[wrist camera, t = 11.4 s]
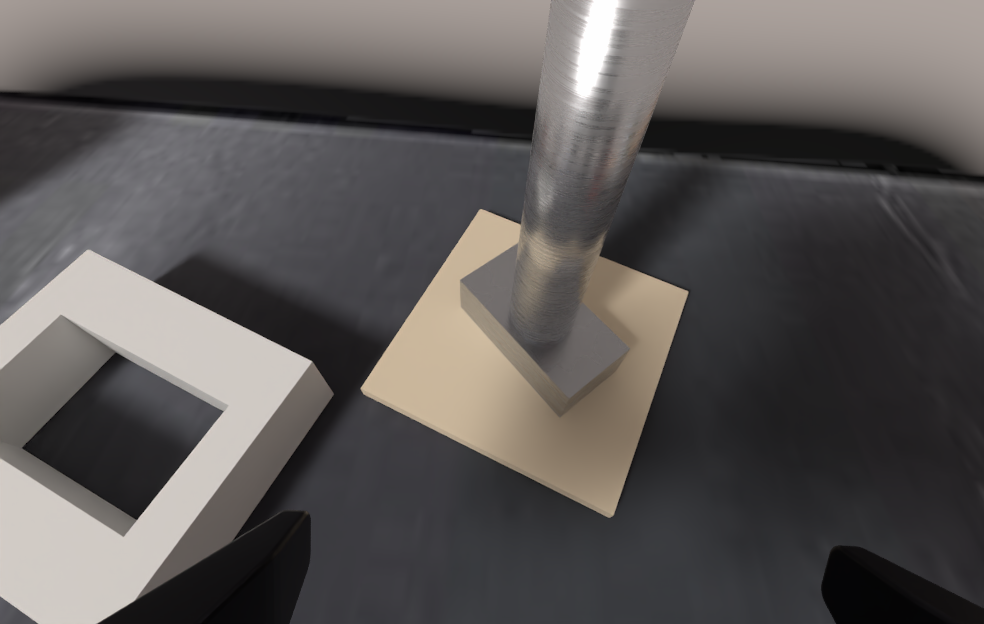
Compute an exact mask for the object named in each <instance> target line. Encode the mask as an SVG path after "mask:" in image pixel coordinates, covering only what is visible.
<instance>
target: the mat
mask: <svg viewBox="0 0 984 624" xmlns="http://www.w3.org/2000/svg"><path fill="white" fill-rule="evenodd" d="M520 229H521V225H520V224H518V223H515V222H512V221H510V220H507V219H505V218H502V217H500V216H497V215H495V214H492V213H490V212H487V211H485V210H482V209H480V210H479V212H478V213H477V215H476V216H475V218H474V219H473V221H472V222H471V224H470V225H469V227H468V228H467V230H466V231H465V233H464V234H463V236H462V237H461V239H460V240H459V242H458V243H457V245H456V246H455V248H454V249H453V251H452V252H451V254H450V255H449V257H448V258H447V260H446V261H445V263H444V264H443V266H442V267H441V269H440V270H439V272H438V273H437V275H436V276H435V278H434V279H433V281H432V282H431V284H430V285H429V287H428V288H427V290H426V291H425V293H424V294H423V296H422V297H421V299H420V300H419V302H418V303H417V305H416V306H415V308H414V309H413V311H412V312H411V314H410V315H409V317H408V318H407V320H406V321H405V323H404V324H403V326H402V327H401V329H400V330H399V332H398V333H397V335H396V336H395V338H394V339H393V341H392V342H391V344H390V345H389V347H388V348H387V350H386V351H385V353H384V354H383V356H382V357H381V359H380V360H379V362H378V363H377V365H376V366H375V368H374V369H373V371H372V372H371V374H370V375H369V377H368V378H367V380H366V381H365V383H364V384H363V386H362V387H361V390H362V392H363V394H364V395H366V396H368V397H370V398H372V399H374V400H376V401H378V402H380V403H382V404H384V405H386V406H388V407H390V408H392V409H394V410H396V411H398V412H400V413H402V414H404V415H406V416H408V417H410V418H412V419H414V420H416V421H418V422H420V423H422V424H424V425H426V426H428V427H430V428H432V429H434V430H436V431H438V432H440V433H441V434H443V435H445V436H447V437H449V438H451V439H453V440H455V441H457V442H459V443H461V444H463V445H465V446H467V447H469V448H471V449H473V450H475V451H477V452H479V453H481V454H483V455H485V456H487V457H489V458H491V459H493V460H495V461H497V462H499V463H501V464H503V465H505V466H507V467H509V468H511V469H513V470H515V471H517V472H519V473H521V474H523V475H525V476H527V477H529V478H531V479H533V480H535V481H537V482H539V483H541V484H543V485H545V486H547V487H549V488H551V489H553V490H555V491H557V492H559V493H561V494H563V495H565V496H567V497H569V498H571V499H573V500H575V501H577V502H579V503H581V504H582V505H584V506H586V507H588V508H590V509H592V510H594V511H596V512H598V513H600V514H602V515H604V516H606V517H608V518H610V517H612V516H613V515H614V513H615V510H616V507H617V504H618V501H619V498H620V495H621V492H622V489H623V486H624V483H625V480H626V477H627V474H628V471H629V468H630V465H631V462H632V459H633V456H634V453H635V450H636V447H637V444H638V441H639V438H640V435H641V432H642V429H643V426H644V423H645V420H646V417H647V414H648V411H649V408H650V405H651V402H652V399H653V396H654V394H655V391H656V388H657V385H658V382H659V379H660V376H661V373H662V370H663V367H664V364H665V361H666V358H667V355H668V352H669V349H670V346H671V343H672V340H673V337H674V334H675V331H676V328H677V325H678V322H679V319H680V316H681V313H682V310H683V307H684V304H685V301H686V298H687V295H688V291H686V290H683V289H681V288H678V287H676V286H673V285H671V284H668V283H666V282H663V281H661V280H658V279H656V278H653V277H651V276H648V275H646V274H643V273H641V272H638V271H636V270H633V269H631V268H628V267H626V266H623V265H621V264H618V263H616V262H613V261H611V260H608V259H606V258H603V257H600V256H599V258H598V260H597V263H596V266H595V268H594V271H593V274H592V276H591V279H590V282H589V284H588V287H587V290H586V292H585V295H584V298H583V300H582V302H583V303H584V304H585V305H586V306H587V307H588V308H589V309H590V310H591V311H592V312H593V313H594V314H595V315H596V316H597V317H598V318H599V319H600V320H601V321H602V322H603V323H604V324H605V325H606V326H607V327H608V328H609V329H611V330H612V331H613V332H614V333H615V334H616V335H617V336H618V337H619V338H620V339H621V340H622V341H623V342H624V343H625V344H626V345H627V346H628V347H629V348H630V350H629V351H628V353H627V355H626V356H625V358H624V359H623V361H622V362H621V364H620V366H619V367H618V369H617V370H616V371H615V372H614V373H613V374H612V375H611V376H609V377H608V378H607V379H606V380H605V381H603V382H602V383H601V384H600V385H599V386H597V387H596V388H595V389H594V390H593V391H591V392H590V393H589V394H588V395H586V396H585V397H584V398H583V399H582V400H580V401H579V402H578V403H577V404H576V405H574V406H573V407H572V408H571V409H570V410H568V411H567V412H566V413H565V414H564V415H562V416H561V417H560V418H559V416H558V415H557V414H556V413H555V412H554V411H553V410H552V409H551V408H550V406H549V405H548V404H547V403H546V402H545V401H544V400H543V399H542V397H541V396H540V395H539V394H538V393H537V392H536V391H535V390H534V388H533V387H532V386H531V385H530V384H529V383H528V382H527V381H526V380H525V378H524V377H523V376H522V375H521V374H520V373H519V372H518V371H517V369H516V368H515V367H514V366H513V365H512V364H511V363H510V362H509V360H508V359H507V358H506V357H505V356H504V355H503V354H502V353H501V352H500V350H499V349H498V348H497V347H496V346H495V345H494V344H493V343H492V341H491V340H490V339H489V338H488V337H487V336H486V335H485V334H484V332H483V331H482V330H481V329H480V328H479V327H478V326H477V325H476V323H475V322H474V321H473V320H472V319H471V318H470V317H469V316H468V315H467V313H466V312H465V311H464V310H463V309H462V308H461V299H460V280H461V279H462V278H464V277H465V276H467V275H468V274H470V273H472V272H473V271H475V270H476V269H478V268H479V267H481V266H483V265H484V264H486V263H487V262H489V261H490V260H492V259H494V258H495V257H497V256H498V255H500V254H501V253H503V252H505V251H506V250H508V249H509V248H511V247H512V246H514V245H516V244H517V243H519V236H520Z"/></svg>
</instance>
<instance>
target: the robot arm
mask: <svg viewBox="0 0 984 624" xmlns="http://www.w3.org/2000/svg"><path fill="white" fill-rule="evenodd" d="M310 554H311V518H310V514H309V513H308V512H307V511H299V510H283V511H281V512H280V513H278V514H276V515H275V516H273V517H271V518H270V519H268V520H266V521H265V522H263V523H262V524H260V525H258V526H257V527H255V528H253V529H252V530H250V531H248V532H247V533H245V534H243V535H242V536H240V537H238V538H237V539H235V540H234V541H232V542H230V543H229V544H227V545H225V546H224V547H222V548H220V549H219V550H217V551H215V552H214V553H212V554H210V555H209V556H207V557H206V558H204V559H202V560H201V561H199V562H197V563H196V564H194V565H192V566H191V567H189V568H187V569H186V570H184V571H183V572H181V573H179V574H178V575H176V576H174V577H173V578H171V579H169V580H168V581H166V582H164V583H163V584H161V585H159V586H158V587H156V588H155V589H153V590H151V591H150V592H148V593H146V594H145V595H143V596H141V597H140V598H138V599H136V600H135V601H133V602H131V603H130V604H128V605H127V606H125V607H123V608H122V609H120V610H118V611H117V612H115V613H113V614H112V615H110V616H108V617H107V618H105V619H103V620H102V621H100V622H99V623H97V624H289V623H290V620H291V617H292V614H293V611H294V608H295V605H296V603H297V600H298V597H299V594H300V591H301V588H302V585H303V582H304V579H305V576H306V573H307V570H308V567H309V562H310ZM821 591H822V596H823V599H824V602H825V604H826V606H827V608H828V609H829V611H830V613H831V615H832V617H833V619H834V621H835V622H836V624H984V608H982V607H980V606H978V605H976V604H974V603H972V602H970V601H968V600H966V599H964V598H962V597H960V596H958V595H956V594H954V593H952V592H950V591H948V590H946V589H944V588H942V587H940V586H938V585H936V584H934V583H932V582H930V581H928V580H926V579H924V578H922V577H920V576H918V575H916V574H914V573H912V572H910V571H908V570H906V569H904V568H902V567H900V566H898V565H896V564H894V563H892V562H890V561H888V560H886V559H884V558H882V557H880V556H878V555H876V554H874V553H872V552H870V551H868V550H866V549H864V548H861V547H857V546H841V545H838V546H835V547H833V549H832V550H831V551H830V554H829V558H828V562H827V565H826V569H825V573H824V577H823V581H822V585H821Z"/></svg>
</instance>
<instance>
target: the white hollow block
mask: <svg viewBox="0 0 984 624" xmlns="http://www.w3.org/2000/svg"><path fill="white" fill-rule="evenodd" d="M115 352H116V353H118V354H119V355H121V356H123V357H125V358H127V359H129V360H130V361H132V362H134V363H136V364H138V365H140V366H141V367H143V368H145V369H147V370H149V371H150V372H152V373H154V374H156V375H158V376H160V377H161V378H163V379H165V380H167V381H169V382H171V383H172V384H174V385H176V386H178V387H180V388H182V389H183V390H185V391H187V392H189V393H191V394H193V395H194V396H196V397H198V398H200V399H202V400H204V401H205V402H207V403H209V404H211V405H213V406H215V407H216V408H218V409H220V410H222V411H224V412H223V414H222V415H221V416H220V417H219V419H218V420H217V421H216V422H215V424H214V425H213V426H212V427H211V429H210V430H209V431H208V432H207V434H206V435H205V436H204V437H203V439H202V440H201V441H200V442H199V444H198V445H197V446H196V447H195V449H194V450H193V451H192V452H191V454H190V455H189V456H188V457H187V459H186V460H185V461H184V462H183V464H182V465H181V466H180V467H179V469H178V470H177V471H176V472H175V474H174V475H173V476H172V477H171V479H170V480H169V481H168V482H167V484H166V485H165V486H164V487H163V489H162V490H161V491H160V492H159V493H158V495H157V496H156V497H155V498H154V500H153V501H152V502H151V503H150V505H149V506H148V507H147V508H146V510H145V511H144V512H143V513H142V515H141V516H140V517H139V518H138V520H136V519H134V518H132V517H131V516H129V515H128V514H126V513H124V512H123V511H121V510H120V509H118V508H116V507H115V506H113V505H112V504H110V503H108V502H107V501H105V500H104V499H102V498H100V497H99V496H97V495H96V494H94V493H92V492H91V491H89V490H88V489H86V488H84V487H83V486H81V485H80V484H78V483H76V482H75V481H73V480H72V479H70V478H68V477H67V476H65V475H64V474H62V473H60V472H59V471H57V470H56V469H54V468H53V467H51V466H49V465H48V464H46V463H45V462H43V461H41V460H40V459H38V458H37V457H35V456H33V455H32V454H30V453H29V452H27V451H25V450H24V449H22V447H23V446H24V445H25V444H26V443H27V442H28V441H29V440H30V439H31V438H32V437H33V436H34V435H35V434H36V433H37V432H38V431H39V430H40V429H41V428H42V427H43V426H44V425H45V424H46V423H47V422H48V421H49V420H50V419H51V418H52V417H53V416H54V415H55V414H56V413H57V411H58V410H59V409H60V408H61V407H62V406H63V405H64V404H65V403H66V402H67V401H68V400H69V399H70V398H71V397H72V396H73V395H74V394H75V393H76V392H77V391H78V390H79V389H80V388H81V387H82V386H83V385H84V384H85V383H86V382H87V381H88V380H89V379H90V378H91V377H92V376H93V375H94V374H95V373H96V372H97V371H98V370H99V369H100V368H101V367H102V366H103V365H104V364H105V363H106V362H107V361H108V360H109V359H110V358H111V357H112V356H113V355H114V354H115ZM333 395H334V393H333V392H332V390H331V389H330V387H329V386H328V384H327V383H326V381H325V380H324V378H323V377H322V375H321V374H320V372H319V371H318V369H317V368H316V366H315V365H314V363H313V362H312V361H310V360H308V359H306V358H304V357H302V356H300V355H298V354H296V353H294V352H292V351H290V350H288V349H286V348H284V347H282V346H280V345H278V344H276V343H274V342H272V341H270V340H268V339H266V338H264V337H262V336H260V335H258V334H256V333H254V332H252V331H250V330H248V329H246V328H244V327H242V326H240V325H238V324H236V323H234V322H232V321H230V320H228V319H226V318H224V317H222V316H220V315H218V314H216V313H214V312H212V311H210V310H208V309H206V308H204V307H202V306H200V305H198V304H196V303H194V302H192V301H190V300H188V299H186V298H184V297H182V296H180V295H178V294H176V293H174V292H172V291H170V290H168V289H166V288H164V287H162V286H160V285H158V284H156V283H154V282H152V281H150V280H148V279H146V278H144V277H142V276H140V275H138V274H136V273H134V272H132V271H130V270H128V269H126V268H124V267H122V266H120V265H118V264H116V263H114V262H112V261H110V260H108V259H106V258H104V257H102V256H100V255H98V254H96V253H94V252H92V251H90V250H87V251H86V252H85V253H83V254H82V255H81V256H80V257H79V258H78V259H76V260H75V261H74V262H73V263H72V264H71V265H70V266H68V267H67V268H66V269H65V270H64V271H63V272H61V273H60V274H59V275H58V276H57V277H56V278H54V279H53V280H52V281H51V282H50V283H49V284H48V285H46V286H45V287H44V288H43V289H42V290H41V291H39V292H38V293H37V294H36V295H35V296H34V297H33V298H31V299H30V300H29V301H28V302H27V303H26V304H24V305H23V306H22V307H21V308H20V309H19V310H18V311H16V312H15V313H14V314H13V315H12V316H11V317H9V318H8V319H7V320H6V321H5V322H4V323H3V324H1V325H0V596H1V597H2V598H3V599H5V600H6V601H8V602H9V603H10V604H12V605H13V606H15V607H16V608H17V609H19V610H20V611H22V612H23V613H24V614H26V615H27V616H29V617H30V618H31V619H33V620H34V621H36V622H37V623H38V624H97V623H99V622H100V621H102V620H103V619H105V618H107V617H108V616H110V615H112V614H113V613H115V612H117V611H118V610H120V609H122V608H123V607H125V606H127V605H128V604H130V603H131V602H133V601H135V600H136V599H138V598H140V597H141V596H143V595H145V594H146V593H148V592H150V591H151V590H153V589H155V588H156V587H158V586H159V585H161V584H163V583H164V582H166V581H168V580H169V579H171V578H173V577H174V576H176V575H178V574H179V573H181V572H183V571H184V570H186V569H187V568H189V567H191V566H192V565H194V564H196V563H197V562H199V561H201V560H202V559H204V558H206V557H207V556H209V555H210V554H212V553H214V552H215V551H217V550H219V549H220V548H222V547H224V546H225V545H227V544H229V543H230V542H232V541H233V539H234V538H235V536H236V535H237V533H238V532H239V531H240V529H241V528H242V526H243V525H244V523H245V522H246V520H247V519H248V518H249V516H250V515H251V513H252V512H253V510H254V509H255V507H256V506H257V505H258V503H259V502H260V500H261V499H262V497H263V496H264V495H265V493H266V492H267V490H268V489H269V487H270V486H271V484H272V483H273V482H274V480H275V479H276V477H277V476H278V474H279V473H280V471H281V470H282V469H283V467H284V466H285V464H286V463H287V461H288V460H289V458H290V457H291V456H292V454H293V453H294V451H295V450H296V448H297V447H298V445H299V444H300V443H301V441H302V440H303V438H304V437H305V435H306V434H307V432H308V431H309V430H310V428H311V427H312V425H313V424H314V422H315V421H316V420H317V418H318V417H319V415H320V414H321V412H322V411H323V409H324V408H325V407H326V405H327V404H328V402H329V401H330V399H331V398H332V396H333Z"/></svg>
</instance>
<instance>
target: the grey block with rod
mask: <svg viewBox="0 0 984 624" xmlns="http://www.w3.org/2000/svg"><path fill="white" fill-rule="evenodd" d="M694 1H695V0H551V7H550V14H549V22H548V28H547V36H546V44H545V51H544V58H543V66H542V73H541V80H540V88H539V95H538V102H537V110H536V118H535V125H534V132H533V140H532V147H531V154H530V162H529V169H528V177H527V184H526V192H525V199H524V206H523V214H522V221H521V229H520V236H519V243H517V244H516V245H514V246H512V247H511V248H509V249H508V250H506V251H505V252H503V253H501V254H500V255H498V256H497V257H495V258H494V259H492V260H490V261H489V262H487V263H486V264H484V265H483V266H481V267H479V268H478V269H476V270H475V271H473V272H472V273H470V274H468V275H467V276H465V277H464V278H462V279H461V280H460V299H461V308H462V309H463V310H464V311H465V312H466V313H467V315H468V316H469V317H470V318H471V319H472V320H473V321H474V322H475V323H476V325H477V326H478V327H479V328H480V329H481V330H482V331H483V332H484V334H485V335H486V336H487V337H488V338H489V339H490V340H491V341H492V343H493V344H494V345H495V346H496V347H497V348H498V349H499V350H500V352H501V353H502V354H503V355H504V356H505V357H506V358H507V359H508V360H509V362H510V363H511V364H512V365H513V366H514V367H515V368H516V369H517V371H518V372H519V373H520V374H521V375H522V376H523V377H524V378H525V380H526V381H527V382H528V383H529V384H530V385H531V386H532V387H533V388H534V390H535V391H536V392H537V393H538V394H539V395H540V396H541V397H542V399H543V400H544V401H545V402H546V403H547V404H548V405H549V406H550V408H551V409H552V410H553V411H554V412H555V413H556V414H557V415H558V416H559V418H560V417H561V416H562V415H564V414H565V413H566V412H567V411H568V410H570V409H571V408H572V407H573V406H574V405H576V404H577V403H578V402H579V401H580V400H582V399H583V398H584V397H585V396H586V395H588V394H589V393H590V392H591V391H593V390H594V389H595V388H596V387H597V386H599V385H600V384H601V383H602V382H603V381H605V380H606V379H607V378H608V377H609V376H611V375H612V374H613V373H614V372H615V371H616V370H617V369H618V367H619V366H620V364H621V362H622V361H623V359H624V358H625V356H626V355H627V353H628V351H629V350H630V348H629V347H628V346H627V345H626V344H625V343H624V342H623V341H622V340H621V339H620V338H619V337H618V336H617V335H616V334H615V333H614V332H613V331H612V330H611V329H609V328H608V327H607V326H606V325H605V324H604V323H603V322H602V321H601V320H600V319H599V318H598V317H597V316H596V315H595V314H594V313H593V312H592V311H591V310H590V309H589V308H588V307H587V306H586V305H585V304H584V303H583V302H582V300H583V298H584V295H585V292H586V290H587V287H588V284H589V282H590V279H591V276H592V274H593V271H594V268H595V266H596V263H597V260H598V258H599V255H600V252H601V250H602V247H603V244H604V242H605V239H606V236H607V234H608V231H609V228H610V226H611V223H612V220H613V218H614V215H615V212H616V210H617V207H618V204H619V202H620V199H621V196H622V194H623V191H624V188H625V186H626V183H627V180H628V178H629V175H630V172H631V170H632V167H633V164H634V162H635V159H636V156H637V154H638V151H639V148H640V145H641V143H642V140H643V137H644V135H645V132H646V129H647V127H648V124H649V121H650V119H651V116H652V113H653V111H654V108H655V105H656V103H657V100H658V97H659V95H660V92H661V89H662V87H663V84H664V81H665V78H666V76H667V73H668V70H669V68H670V65H671V63H672V60H673V57H674V55H675V52H676V49H677V47H678V44H679V41H680V39H681V36H682V33H683V30H684V28H685V25H686V23H687V20H688V17H689V15H690V12H691V9H692V7H693V4H694Z"/></svg>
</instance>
